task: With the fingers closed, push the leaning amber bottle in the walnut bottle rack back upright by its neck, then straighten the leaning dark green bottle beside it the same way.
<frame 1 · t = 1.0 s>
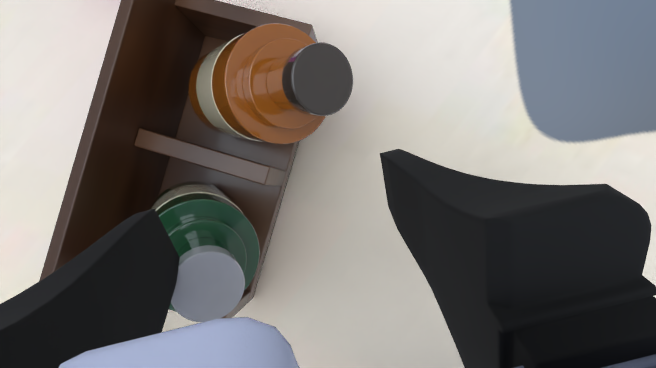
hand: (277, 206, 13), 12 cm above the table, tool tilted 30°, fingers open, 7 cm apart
amber bottle: (267, 87, 18), point 7 cm above the table, hinge at 38.0°
dark green bottle: (198, 246, 18), point 7 cm above the table, hinge at 28.5°, touching gripper
rack: (230, 162, 25), on the table
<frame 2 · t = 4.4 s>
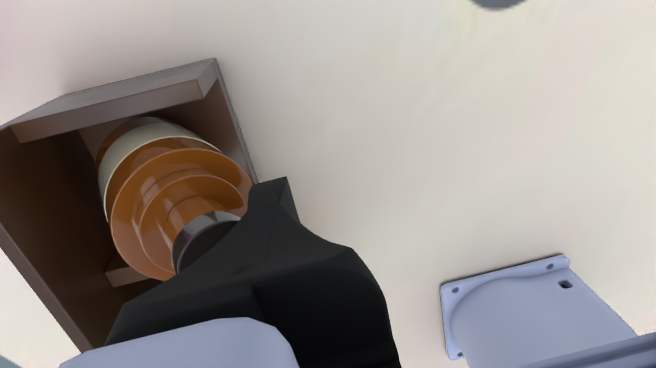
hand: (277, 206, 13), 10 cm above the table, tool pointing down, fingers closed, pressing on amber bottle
amber bottle: (179, 201, 15), point 7 cm above the table, hinge at 26.9°, touching gripper
rack: (197, 208, 23), on the table
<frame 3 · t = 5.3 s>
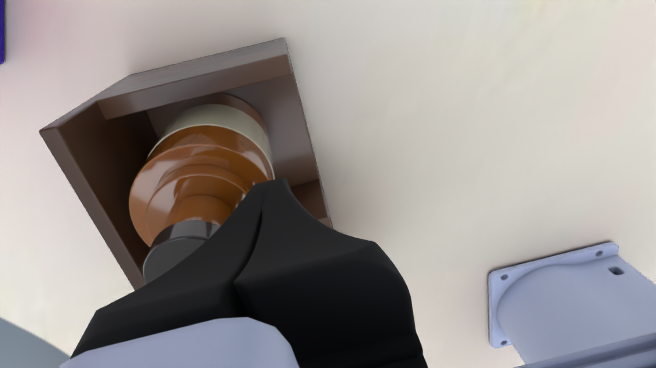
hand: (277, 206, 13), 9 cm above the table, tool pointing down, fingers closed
amber bottle: (210, 188, 15), point 7 cm above the table, hinge at 3.1°, touching gripper
rack: (254, 193, 23), on the table
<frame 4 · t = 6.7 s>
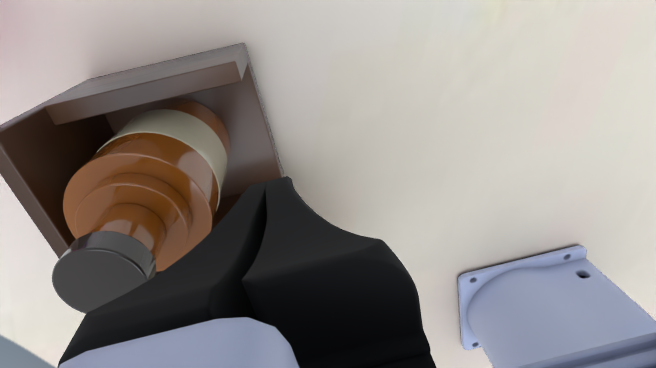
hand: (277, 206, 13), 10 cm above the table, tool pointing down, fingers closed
amber bottle: (153, 194, 15), point 6 cm above the table, hinge at -0.2°
rack: (219, 196, 23), on the table
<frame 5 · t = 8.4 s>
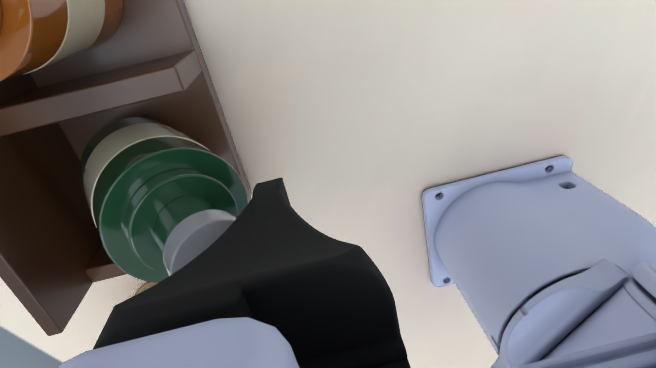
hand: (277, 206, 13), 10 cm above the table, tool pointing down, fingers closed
dark green bottle: (168, 202, 15), point 7 cm above the table, hinge at 29.2°, touching gripper
rack: (124, 75, 19), on the table
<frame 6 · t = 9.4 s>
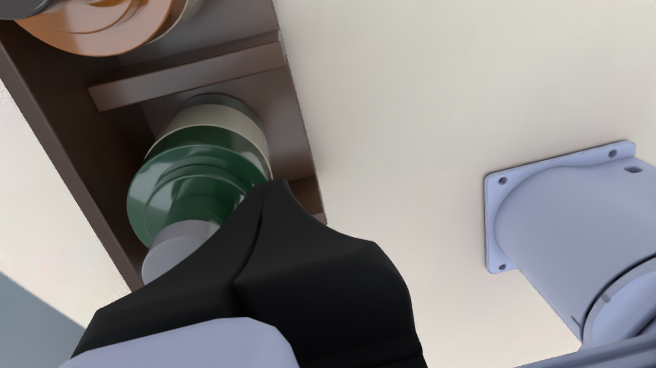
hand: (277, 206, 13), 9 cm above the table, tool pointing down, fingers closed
dark green bottle: (208, 188, 15), point 7 cm above the table, hinge at 3.8°, touching gripper
rack: (203, 56, 19), on the table
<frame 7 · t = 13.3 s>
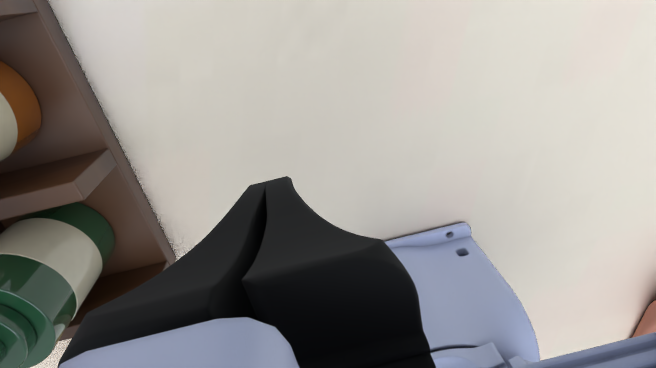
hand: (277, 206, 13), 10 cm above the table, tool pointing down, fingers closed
dark green bottle: (14, 301, 18), point 6 cm above the table, hinge at -0.2°
rack: (51, 164, 22), on the table
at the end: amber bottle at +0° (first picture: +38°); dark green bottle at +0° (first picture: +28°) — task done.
